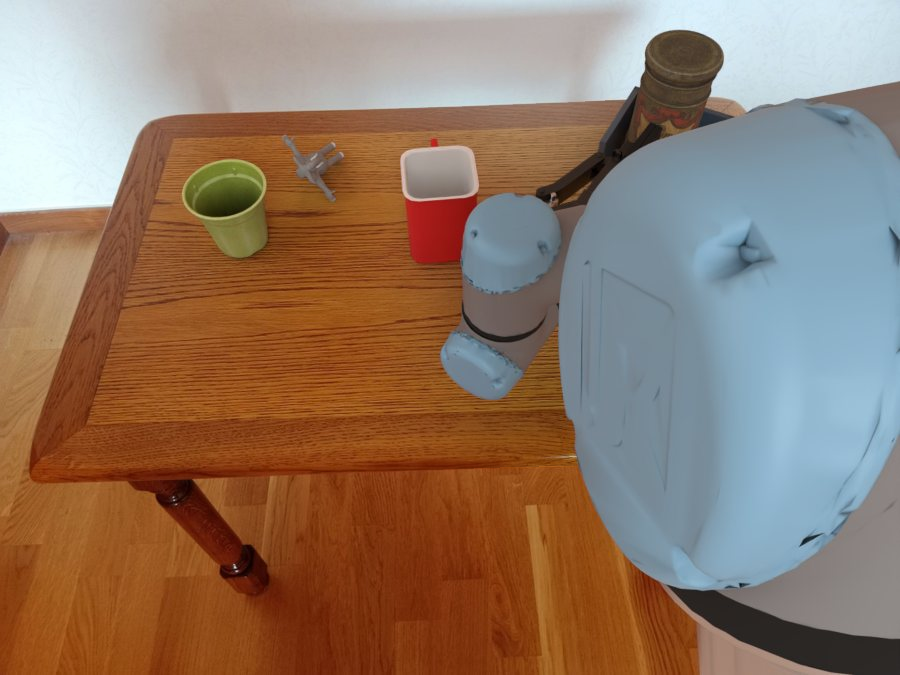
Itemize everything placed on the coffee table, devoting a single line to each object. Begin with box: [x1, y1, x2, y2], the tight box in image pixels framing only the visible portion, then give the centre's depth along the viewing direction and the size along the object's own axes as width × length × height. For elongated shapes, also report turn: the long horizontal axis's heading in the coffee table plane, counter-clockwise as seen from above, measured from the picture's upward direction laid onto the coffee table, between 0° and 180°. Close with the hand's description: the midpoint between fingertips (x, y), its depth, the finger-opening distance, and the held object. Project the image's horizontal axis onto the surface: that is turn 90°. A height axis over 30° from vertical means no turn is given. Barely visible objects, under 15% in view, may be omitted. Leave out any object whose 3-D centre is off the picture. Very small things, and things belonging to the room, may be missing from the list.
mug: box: [399, 137, 480, 265], centre depth 82 cm, size 12×8×11 cm
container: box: [624, 29, 725, 143], centre depth 84 cm, size 9×9×18 cm
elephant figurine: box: [281, 133, 345, 203], centre depth 90 cm, size 10×6×9 cm
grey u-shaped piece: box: [591, 85, 735, 183], centre depth 89 cm, size 12×13×7 cm
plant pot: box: [181, 158, 269, 259], centre depth 83 cm, size 9×9×9 cm
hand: (653, 134), depth 81 cm, fingers closed
